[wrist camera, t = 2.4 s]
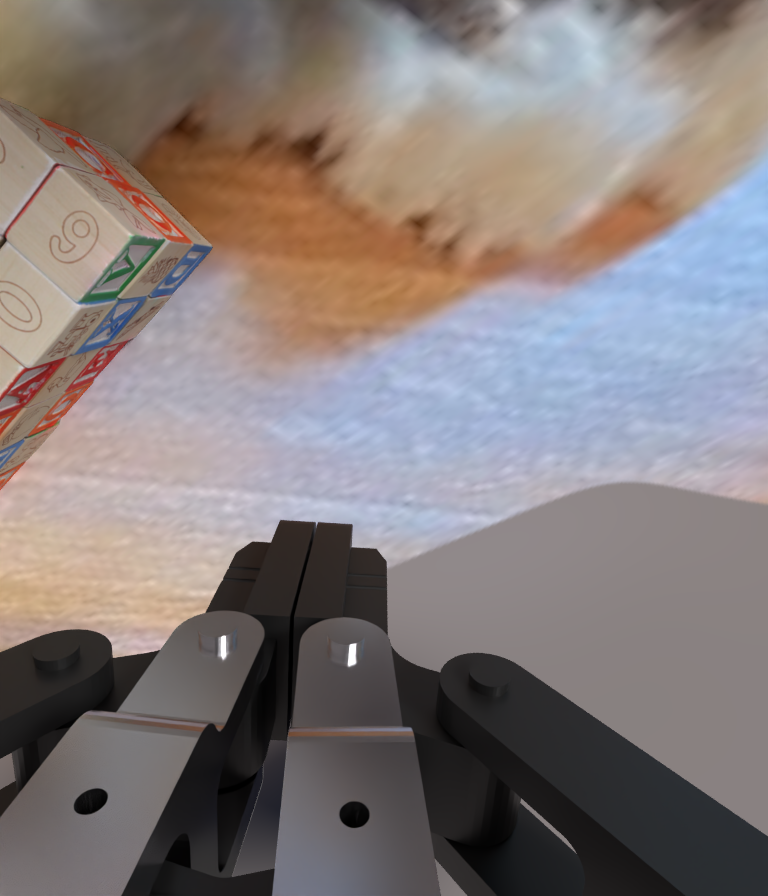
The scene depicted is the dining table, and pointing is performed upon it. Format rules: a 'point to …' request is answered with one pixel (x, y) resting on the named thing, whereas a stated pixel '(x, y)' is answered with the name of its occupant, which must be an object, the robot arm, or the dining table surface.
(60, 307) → the stack of blocks
